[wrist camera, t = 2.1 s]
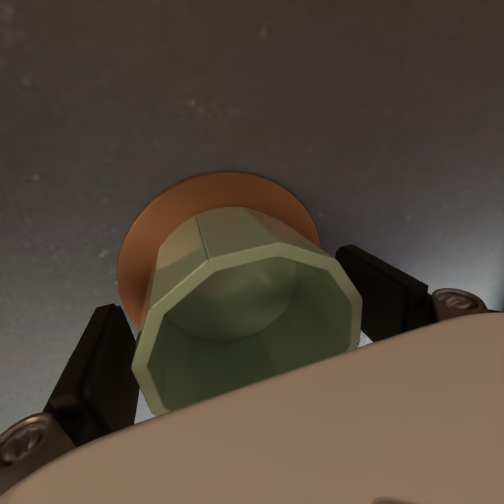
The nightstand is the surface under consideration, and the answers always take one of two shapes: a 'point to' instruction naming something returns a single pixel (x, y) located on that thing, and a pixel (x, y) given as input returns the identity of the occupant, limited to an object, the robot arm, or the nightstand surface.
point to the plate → (188, 205)
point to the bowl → (238, 308)
